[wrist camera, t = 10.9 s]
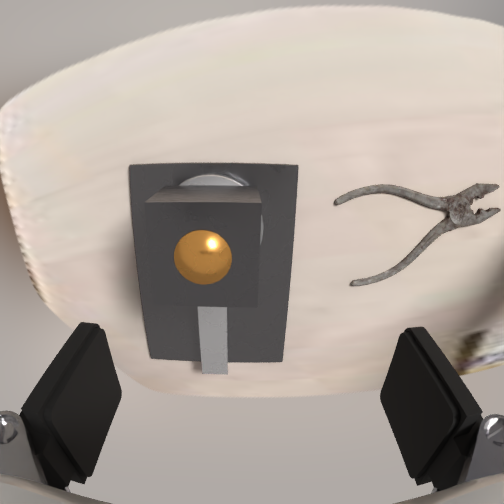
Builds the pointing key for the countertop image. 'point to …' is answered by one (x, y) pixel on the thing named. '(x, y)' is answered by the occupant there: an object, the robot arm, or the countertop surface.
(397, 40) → the countertop surface
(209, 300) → the socket
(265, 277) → the lever switch plate
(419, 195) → the pliers
